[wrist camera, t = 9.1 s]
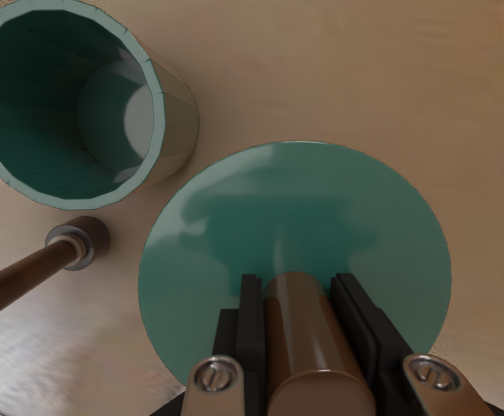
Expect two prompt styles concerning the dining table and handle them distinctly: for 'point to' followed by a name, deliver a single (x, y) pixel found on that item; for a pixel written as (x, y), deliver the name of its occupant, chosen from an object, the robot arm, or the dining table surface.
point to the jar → (86, 107)
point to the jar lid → (294, 266)
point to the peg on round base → (55, 257)
